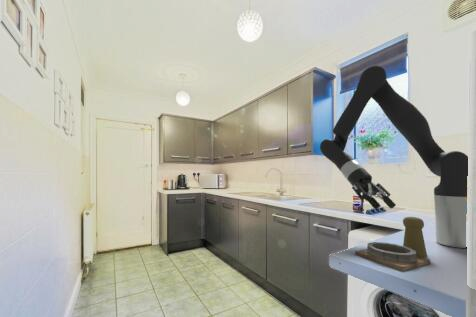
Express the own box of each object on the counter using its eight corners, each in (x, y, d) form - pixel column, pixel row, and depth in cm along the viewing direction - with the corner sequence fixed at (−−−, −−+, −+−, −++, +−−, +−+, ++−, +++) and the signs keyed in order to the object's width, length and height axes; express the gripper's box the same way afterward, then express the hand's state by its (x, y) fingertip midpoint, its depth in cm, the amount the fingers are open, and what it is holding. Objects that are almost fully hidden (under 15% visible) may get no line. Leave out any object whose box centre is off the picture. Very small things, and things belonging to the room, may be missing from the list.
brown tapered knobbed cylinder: (403, 249, 74) (401, 214, 75) (427, 253, 70) (425, 217, 71) (401, 253, 69) (400, 217, 70) (427, 258, 66) (425, 219, 67)
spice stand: (382, 249, 73) (381, 239, 74) (430, 263, 62) (429, 252, 62) (355, 254, 68) (354, 244, 68) (402, 271, 56) (402, 258, 56)
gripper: (348, 166, 84) (380, 200, 73) (373, 168, 90) (406, 200, 79) (337, 180, 89) (365, 215, 77) (361, 181, 95) (390, 213, 84)
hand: (386, 207), depth 78 cm, fingers open, 8 cm apart
